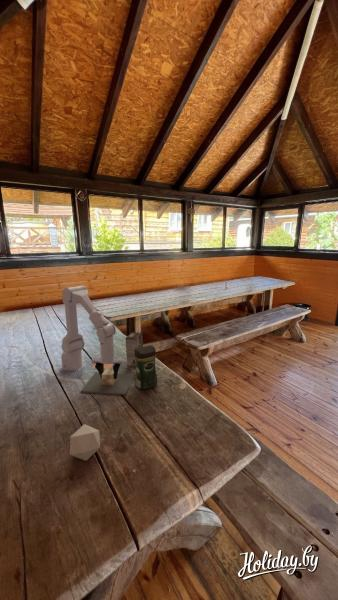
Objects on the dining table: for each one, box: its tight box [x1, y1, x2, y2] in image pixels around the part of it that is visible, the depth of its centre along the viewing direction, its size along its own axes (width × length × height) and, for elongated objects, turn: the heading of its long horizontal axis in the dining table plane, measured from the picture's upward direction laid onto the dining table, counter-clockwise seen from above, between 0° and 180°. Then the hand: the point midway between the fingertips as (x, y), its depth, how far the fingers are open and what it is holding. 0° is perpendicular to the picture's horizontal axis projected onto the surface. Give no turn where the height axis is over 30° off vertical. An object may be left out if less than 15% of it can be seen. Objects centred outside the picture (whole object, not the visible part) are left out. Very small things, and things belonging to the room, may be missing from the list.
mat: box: [80, 371, 136, 396], centre depth 113 cm, size 20×16×1 cm
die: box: [69, 423, 101, 461], centre depth 75 cm, size 8×9×10 cm
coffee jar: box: [134, 344, 158, 390], centre depth 110 cm, size 10×8×19 cm
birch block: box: [102, 368, 117, 385], centre depth 113 cm, size 5×5×5 cm
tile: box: [91, 363, 114, 370], centre depth 131 cm, size 10×10×1 cm
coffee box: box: [125, 331, 144, 367], centre depth 131 cm, size 9×6×16 cm
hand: (109, 377), depth 112 cm, fingers open, 6 cm apart
